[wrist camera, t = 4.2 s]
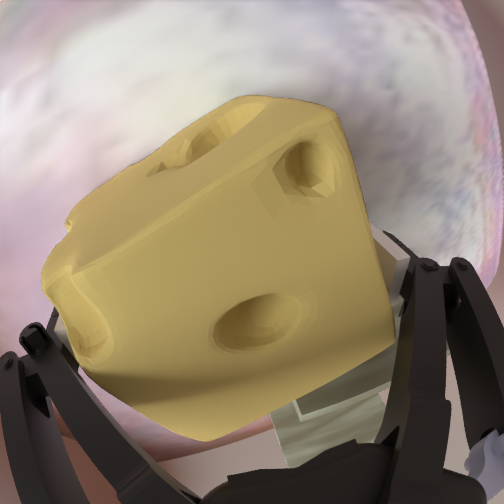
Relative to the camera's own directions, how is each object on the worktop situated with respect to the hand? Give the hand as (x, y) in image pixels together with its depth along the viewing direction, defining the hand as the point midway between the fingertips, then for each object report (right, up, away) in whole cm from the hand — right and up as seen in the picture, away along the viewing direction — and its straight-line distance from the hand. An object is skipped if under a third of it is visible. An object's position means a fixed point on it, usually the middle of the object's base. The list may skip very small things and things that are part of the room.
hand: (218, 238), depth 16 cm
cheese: (-1, +1, +1) cm, 2 cm away
